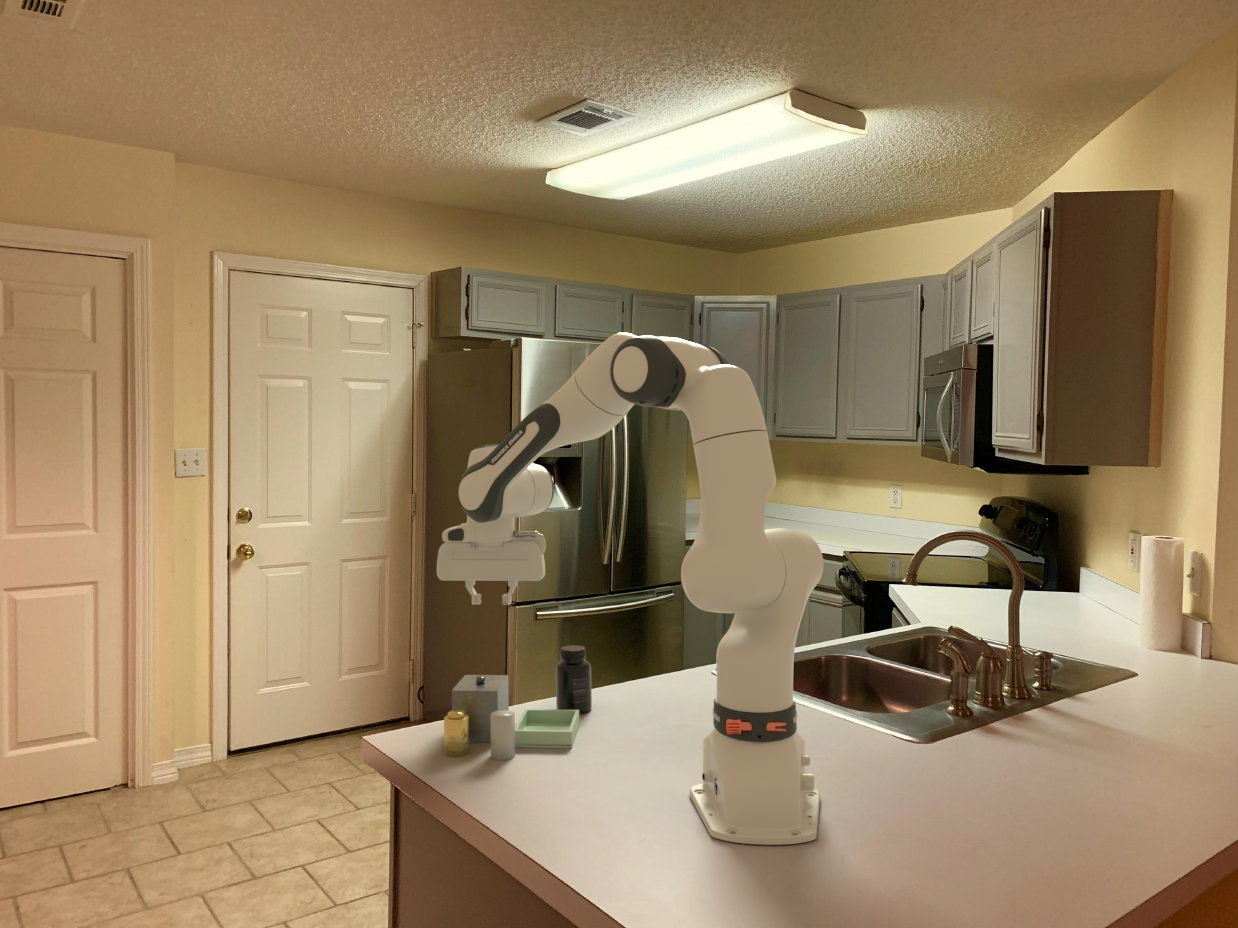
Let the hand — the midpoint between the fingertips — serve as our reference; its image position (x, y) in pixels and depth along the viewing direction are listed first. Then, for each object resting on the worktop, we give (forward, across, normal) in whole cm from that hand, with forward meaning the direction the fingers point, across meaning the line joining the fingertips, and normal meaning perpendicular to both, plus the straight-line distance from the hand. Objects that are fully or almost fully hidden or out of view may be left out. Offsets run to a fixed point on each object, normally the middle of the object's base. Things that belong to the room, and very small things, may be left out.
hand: (491, 604), depth 170 cm
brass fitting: (+21, +2, +20) cm, 29 cm away
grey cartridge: (+21, -6, +21) cm, 30 cm away
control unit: (+21, 0, +10) cm, 23 cm away
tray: (+21, -12, +11) cm, 27 cm away
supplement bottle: (+21, -15, -4) cm, 26 cm away
